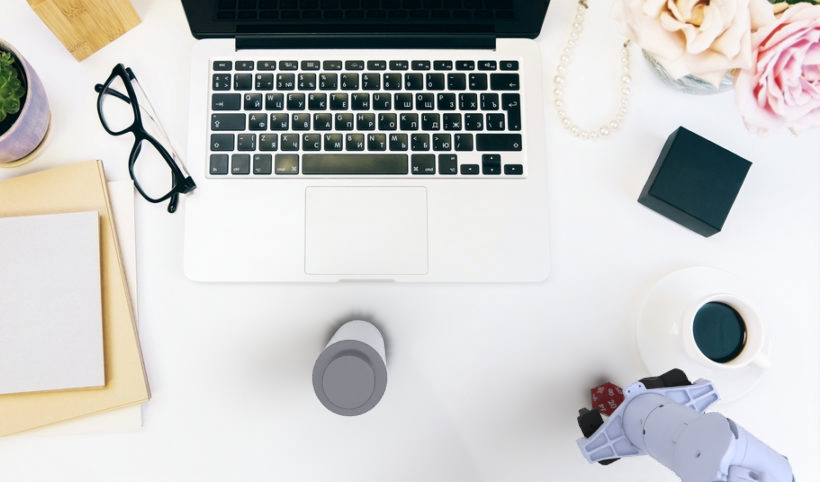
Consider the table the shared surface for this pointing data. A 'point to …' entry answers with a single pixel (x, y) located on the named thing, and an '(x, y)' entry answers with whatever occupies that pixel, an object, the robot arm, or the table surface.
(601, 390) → the dice
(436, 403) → the table surface
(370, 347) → the grey-lidded white canister
